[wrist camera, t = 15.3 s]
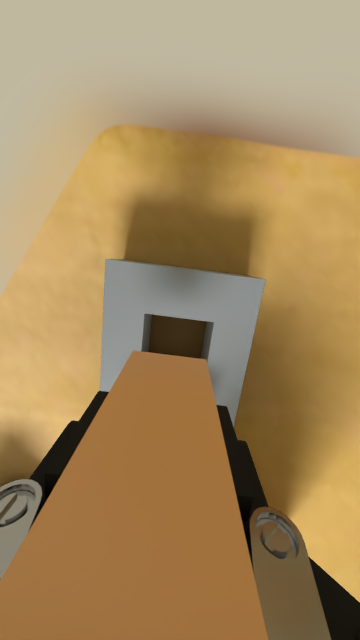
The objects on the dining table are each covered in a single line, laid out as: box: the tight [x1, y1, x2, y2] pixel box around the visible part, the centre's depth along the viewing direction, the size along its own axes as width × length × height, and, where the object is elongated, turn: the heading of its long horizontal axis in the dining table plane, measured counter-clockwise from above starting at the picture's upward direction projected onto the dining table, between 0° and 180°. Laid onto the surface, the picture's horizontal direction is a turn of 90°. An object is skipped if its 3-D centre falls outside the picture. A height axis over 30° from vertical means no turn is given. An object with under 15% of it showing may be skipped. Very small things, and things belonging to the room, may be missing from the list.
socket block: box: [100, 259, 265, 428], centre depth 22 cm, size 12×20×5 cm, turn 173°
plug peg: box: [0, 350, 268, 640], centre depth 7 cm, size 4×4×12 cm
